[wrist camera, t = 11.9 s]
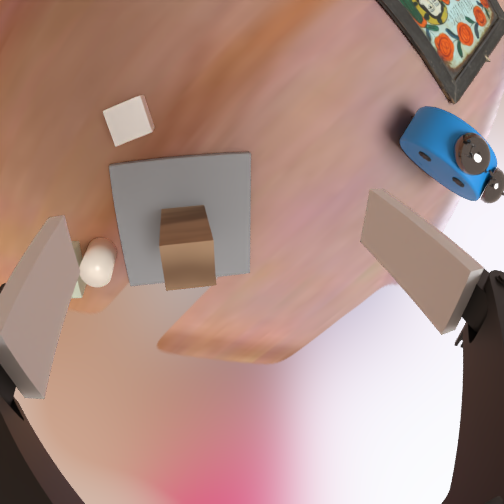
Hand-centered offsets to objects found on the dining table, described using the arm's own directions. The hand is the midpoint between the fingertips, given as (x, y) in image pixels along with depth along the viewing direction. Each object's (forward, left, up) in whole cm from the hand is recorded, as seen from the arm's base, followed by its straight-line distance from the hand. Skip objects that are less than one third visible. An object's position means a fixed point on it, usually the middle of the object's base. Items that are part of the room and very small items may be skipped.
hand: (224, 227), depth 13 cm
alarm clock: (0, +31, -25) cm, 40 cm away
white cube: (-3, -7, -24) cm, 25 cm away
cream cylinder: (+13, -13, -24) cm, 30 cm away
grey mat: (+10, -2, -24) cm, 26 cm away
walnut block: (+11, -2, -23) cm, 26 cm away
